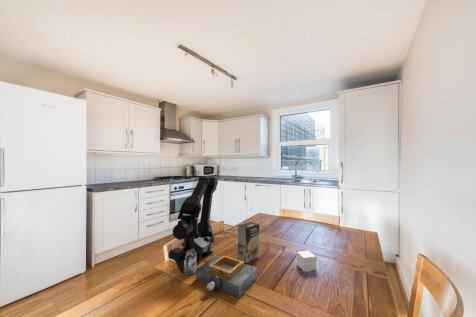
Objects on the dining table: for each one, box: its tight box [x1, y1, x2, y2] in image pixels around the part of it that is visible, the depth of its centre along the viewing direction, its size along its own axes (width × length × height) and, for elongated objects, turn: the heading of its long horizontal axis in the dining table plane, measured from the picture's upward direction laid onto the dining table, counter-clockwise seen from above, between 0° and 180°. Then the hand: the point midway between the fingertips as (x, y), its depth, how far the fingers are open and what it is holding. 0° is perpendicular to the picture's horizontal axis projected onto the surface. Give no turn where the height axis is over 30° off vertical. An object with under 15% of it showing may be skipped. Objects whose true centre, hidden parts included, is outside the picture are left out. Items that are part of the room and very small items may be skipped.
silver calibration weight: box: [183, 251, 197, 276], centre depth 84 cm, size 5×6×9 cm
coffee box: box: [236, 221, 260, 264], centre depth 97 cm, size 9×6×16 cm
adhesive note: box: [296, 250, 317, 272], centre depth 88 cm, size 6×6×6 cm
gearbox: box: [195, 255, 258, 298], centre depth 77 cm, size 18×20×6 cm
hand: (190, 267), depth 84 cm, fingers open, 9 cm apart
